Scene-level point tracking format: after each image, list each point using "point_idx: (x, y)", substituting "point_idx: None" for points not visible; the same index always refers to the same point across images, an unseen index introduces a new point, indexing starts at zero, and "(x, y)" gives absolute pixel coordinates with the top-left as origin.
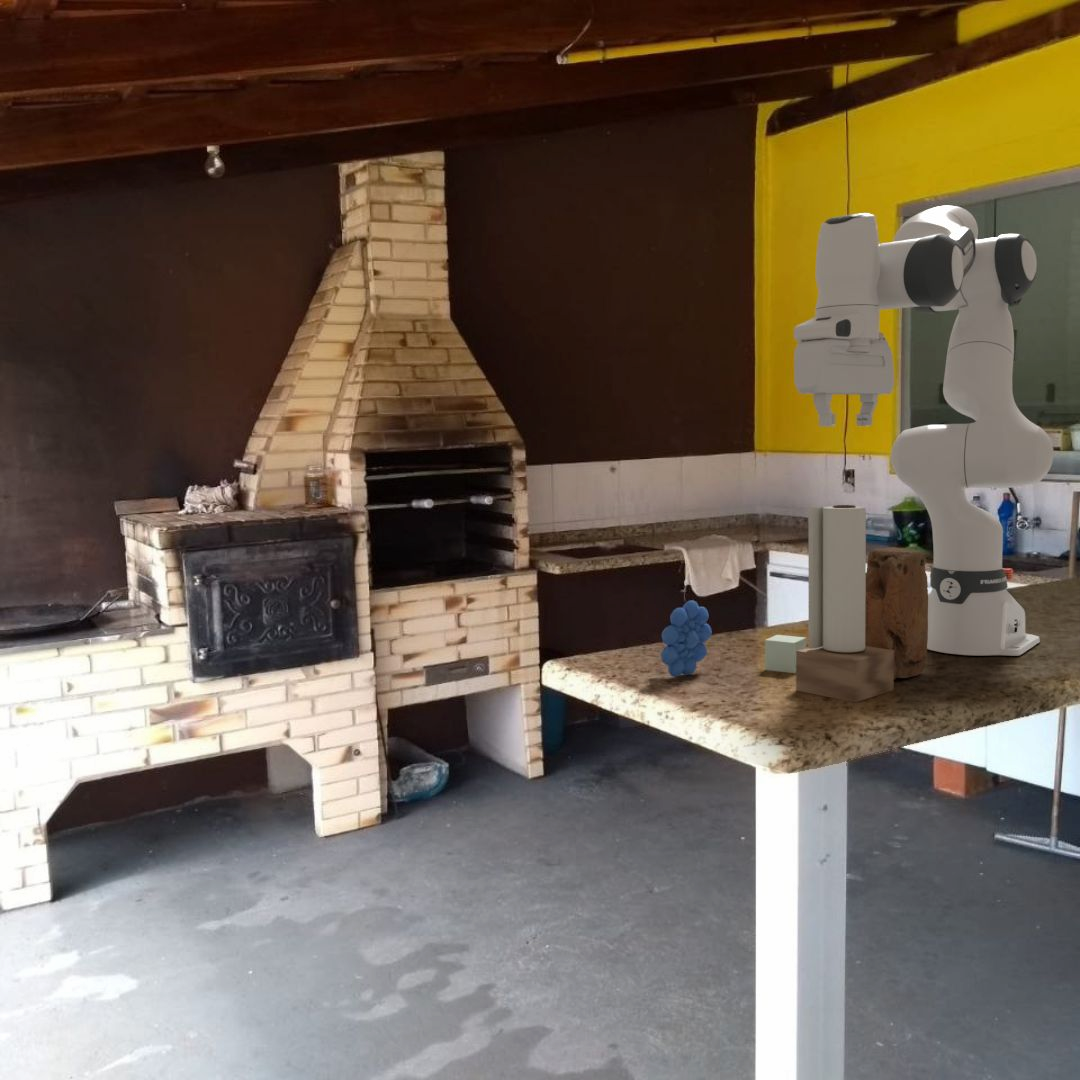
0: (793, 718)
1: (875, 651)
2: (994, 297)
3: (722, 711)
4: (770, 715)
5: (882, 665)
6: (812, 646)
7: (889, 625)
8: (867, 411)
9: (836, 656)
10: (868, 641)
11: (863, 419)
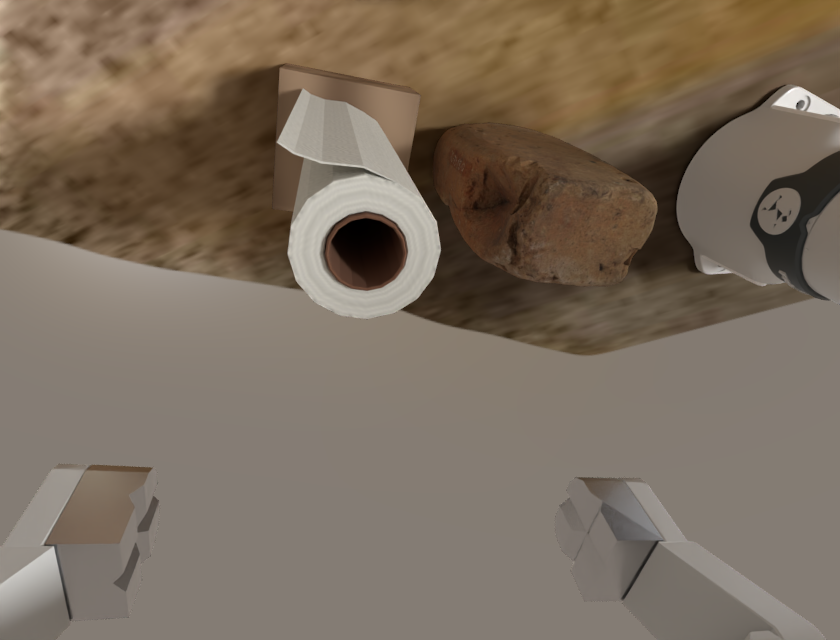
0: (117, 150)
1: None
2: None
3: (46, 12)
4: (100, 108)
5: None
6: (310, 94)
7: (450, 209)
8: (649, 599)
9: (284, 163)
10: (443, 158)
11: (580, 543)
